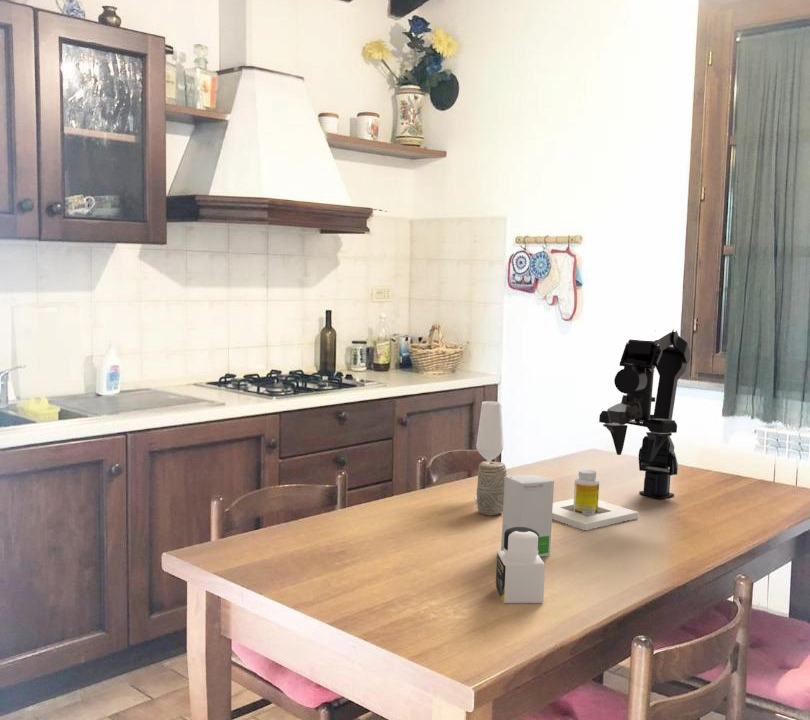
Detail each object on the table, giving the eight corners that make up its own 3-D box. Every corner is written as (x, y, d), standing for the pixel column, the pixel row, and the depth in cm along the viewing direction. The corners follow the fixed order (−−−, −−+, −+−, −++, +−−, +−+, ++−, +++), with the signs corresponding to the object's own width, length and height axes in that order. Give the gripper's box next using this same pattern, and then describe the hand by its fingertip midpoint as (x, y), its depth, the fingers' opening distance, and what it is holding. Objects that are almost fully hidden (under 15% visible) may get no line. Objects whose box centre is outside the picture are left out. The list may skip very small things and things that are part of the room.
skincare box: (517, 561, 173) (521, 483, 171) (498, 551, 178) (502, 476, 177) (552, 555, 176) (555, 480, 175) (532, 545, 182) (536, 472, 181)
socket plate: (585, 502, 217) (586, 496, 217) (637, 518, 204) (638, 512, 204) (533, 512, 206) (533, 506, 206) (584, 530, 194) (585, 524, 193)
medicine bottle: (495, 588, 158) (497, 523, 157) (534, 588, 158) (537, 523, 157) (502, 604, 151) (505, 536, 149) (543, 603, 151) (547, 536, 150)
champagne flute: (505, 497, 219) (510, 402, 216) (493, 503, 213) (497, 406, 210) (481, 493, 222) (485, 399, 220) (469, 498, 217) (473, 402, 214)
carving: (469, 513, 205) (471, 462, 203) (489, 507, 210) (491, 458, 209) (491, 519, 200) (493, 467, 199) (511, 513, 206) (513, 462, 204)
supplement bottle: (600, 517, 203) (602, 474, 202) (576, 517, 203) (579, 473, 201) (593, 510, 208) (595, 468, 207) (570, 510, 208) (572, 468, 207)
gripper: (585, 387, 209) (580, 452, 209) (649, 396, 193) (643, 466, 194) (617, 387, 215) (612, 451, 216) (681, 396, 200) (675, 464, 201)
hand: (634, 458), depth 207 cm, fingers open, 9 cm apart
